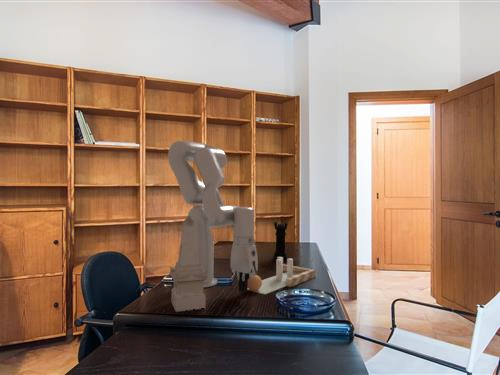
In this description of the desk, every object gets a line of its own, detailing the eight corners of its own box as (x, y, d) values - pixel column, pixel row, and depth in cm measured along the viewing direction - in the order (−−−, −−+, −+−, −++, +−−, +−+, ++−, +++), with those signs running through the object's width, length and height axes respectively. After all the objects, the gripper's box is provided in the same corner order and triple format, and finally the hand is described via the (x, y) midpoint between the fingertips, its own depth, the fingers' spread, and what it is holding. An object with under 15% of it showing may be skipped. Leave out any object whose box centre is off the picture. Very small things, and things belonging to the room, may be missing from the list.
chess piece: (287, 258, 194) (288, 222, 194) (287, 261, 186) (288, 223, 186) (273, 257, 195) (273, 221, 195) (272, 260, 187) (273, 223, 187)
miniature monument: (169, 301, 120) (170, 214, 120) (199, 298, 124) (200, 213, 124) (174, 312, 111) (175, 217, 110) (207, 308, 114) (208, 216, 114)
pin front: (277, 282, 146) (277, 260, 146) (275, 280, 148) (275, 259, 148) (282, 282, 147) (283, 260, 146) (280, 280, 149) (280, 259, 149)
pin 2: (288, 281, 148) (288, 259, 148) (286, 279, 150) (286, 258, 150) (293, 280, 148) (293, 259, 148) (291, 279, 151) (291, 258, 151)
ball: (248, 293, 131) (248, 277, 130) (244, 288, 136) (244, 273, 136) (263, 292, 132) (264, 276, 132) (259, 287, 138) (259, 272, 138)
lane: (265, 294, 130) (265, 294, 130) (240, 288, 137) (240, 287, 137) (310, 276, 156) (310, 275, 156) (287, 271, 164) (287, 271, 164)
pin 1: (278, 279, 151) (278, 258, 151) (276, 277, 153) (276, 257, 153) (283, 278, 151) (283, 258, 151) (281, 277, 154) (281, 256, 154)
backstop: (290, 287, 139) (290, 279, 139) (254, 279, 151) (254, 272, 151) (315, 276, 156) (315, 270, 156) (281, 270, 167) (281, 263, 167)
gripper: (265, 242, 127) (265, 292, 127) (236, 237, 137) (235, 284, 137) (252, 244, 121) (251, 297, 121) (222, 239, 131) (221, 288, 131)
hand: (243, 290), depth 129 cm, fingers closed
